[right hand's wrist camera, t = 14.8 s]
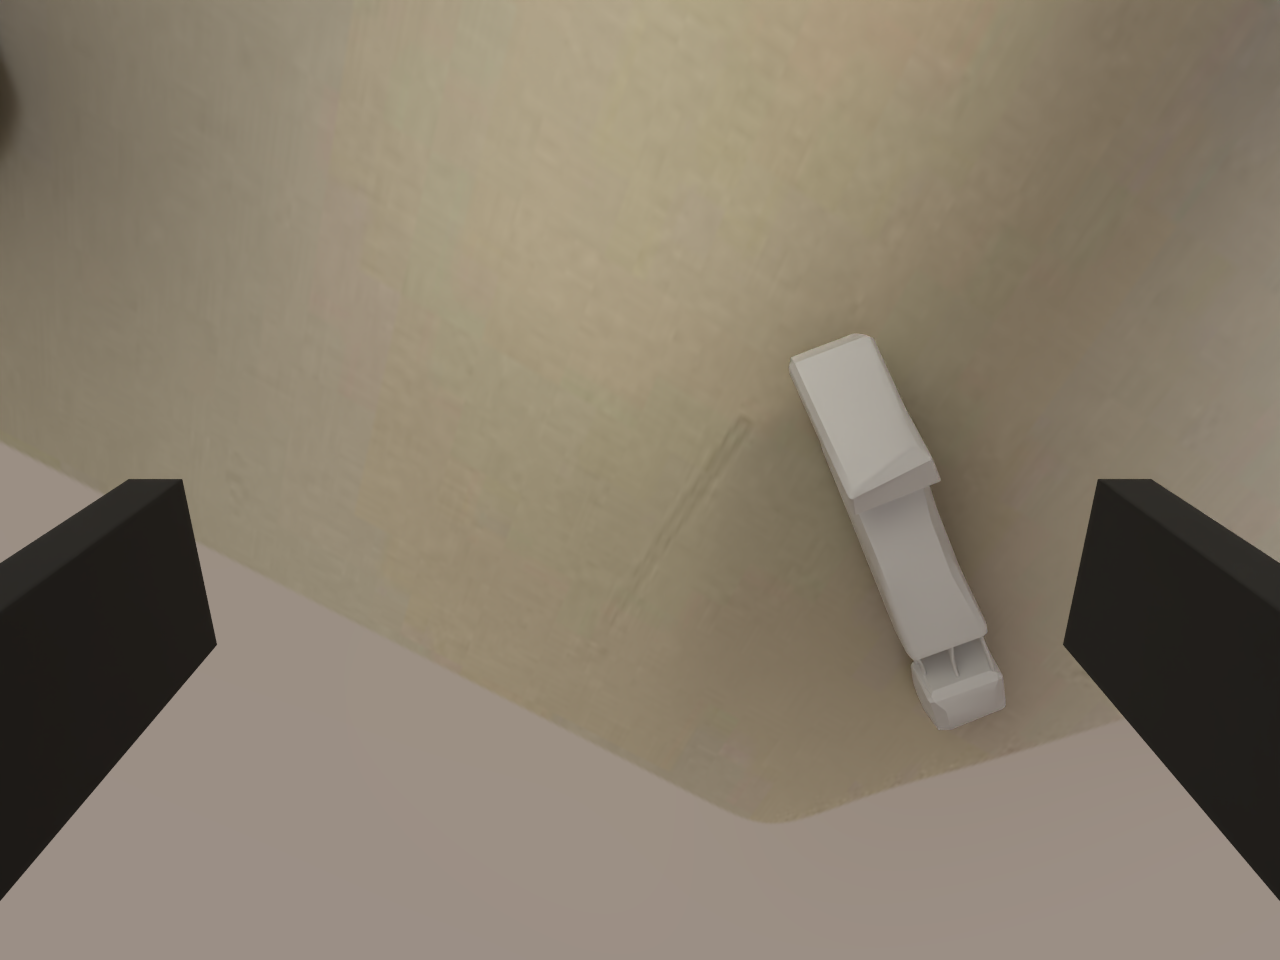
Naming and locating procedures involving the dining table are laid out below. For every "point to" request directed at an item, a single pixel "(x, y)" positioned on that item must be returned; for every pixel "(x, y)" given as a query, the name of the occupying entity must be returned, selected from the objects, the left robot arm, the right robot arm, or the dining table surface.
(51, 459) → the dining table surface
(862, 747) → the dining table surface
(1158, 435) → the dining table surface
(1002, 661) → the dining table surface
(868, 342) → the clamp
